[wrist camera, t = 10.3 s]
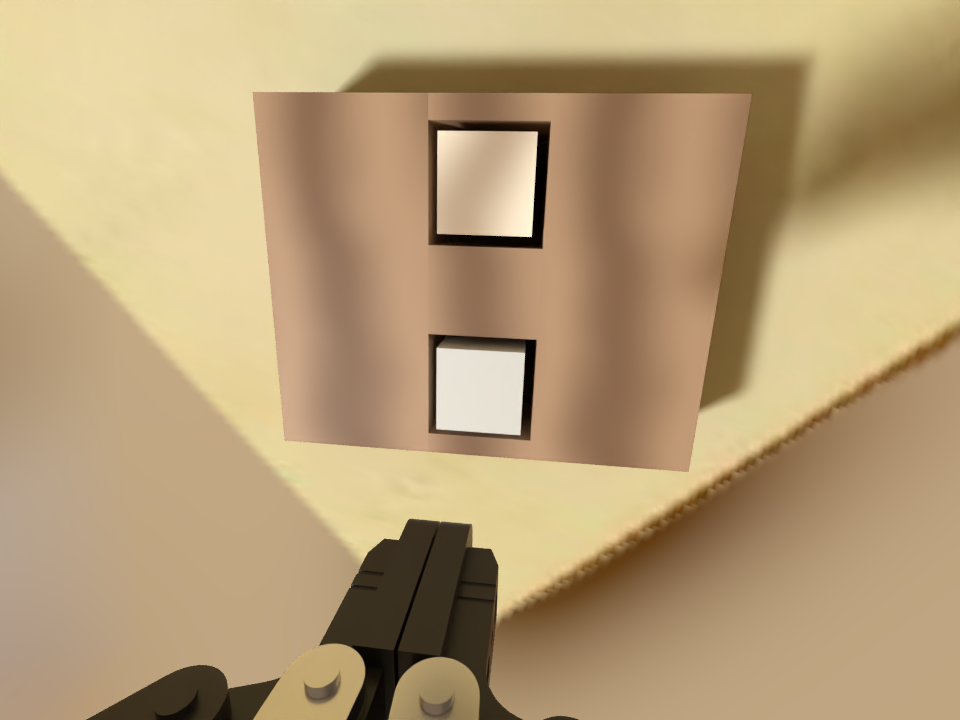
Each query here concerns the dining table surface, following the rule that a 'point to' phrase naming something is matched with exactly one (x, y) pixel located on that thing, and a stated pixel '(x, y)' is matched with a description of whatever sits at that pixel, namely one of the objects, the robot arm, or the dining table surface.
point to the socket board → (499, 267)
